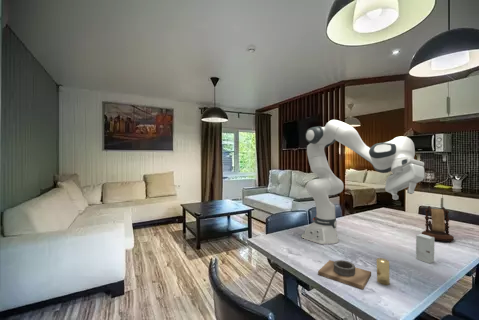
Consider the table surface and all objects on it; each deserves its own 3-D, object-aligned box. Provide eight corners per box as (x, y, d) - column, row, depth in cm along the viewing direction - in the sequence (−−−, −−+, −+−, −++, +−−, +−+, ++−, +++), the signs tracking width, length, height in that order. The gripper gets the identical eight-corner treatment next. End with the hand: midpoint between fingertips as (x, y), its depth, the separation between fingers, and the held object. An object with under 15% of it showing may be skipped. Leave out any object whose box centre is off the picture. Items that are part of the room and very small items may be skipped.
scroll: (425, 241, 134) (424, 208, 134) (419, 233, 147) (418, 203, 147) (458, 244, 127) (457, 210, 127) (448, 236, 140) (447, 205, 140)
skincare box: (415, 258, 111) (415, 234, 111) (420, 257, 113) (420, 233, 113) (430, 264, 106) (429, 238, 106) (435, 262, 108) (434, 237, 108)
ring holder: (318, 274, 99) (317, 264, 99) (329, 263, 109) (329, 254, 109) (362, 289, 87) (362, 278, 87) (371, 275, 97) (370, 264, 97)
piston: (376, 282, 92) (375, 260, 92) (378, 278, 95) (377, 257, 95) (388, 286, 89) (388, 263, 89) (390, 281, 92) (390, 260, 92)
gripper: (382, 174, 111) (380, 200, 105) (411, 156, 92) (412, 186, 87) (395, 178, 110) (394, 204, 105) (427, 161, 92) (429, 191, 86)
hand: (402, 196), depth 96 cm, fingers open, 8 cm apart
